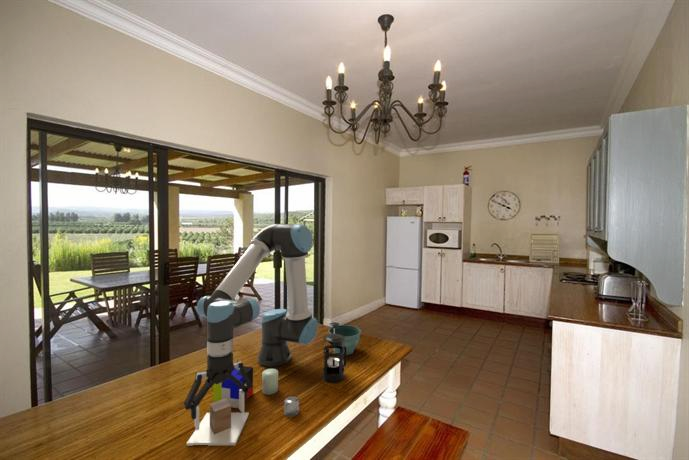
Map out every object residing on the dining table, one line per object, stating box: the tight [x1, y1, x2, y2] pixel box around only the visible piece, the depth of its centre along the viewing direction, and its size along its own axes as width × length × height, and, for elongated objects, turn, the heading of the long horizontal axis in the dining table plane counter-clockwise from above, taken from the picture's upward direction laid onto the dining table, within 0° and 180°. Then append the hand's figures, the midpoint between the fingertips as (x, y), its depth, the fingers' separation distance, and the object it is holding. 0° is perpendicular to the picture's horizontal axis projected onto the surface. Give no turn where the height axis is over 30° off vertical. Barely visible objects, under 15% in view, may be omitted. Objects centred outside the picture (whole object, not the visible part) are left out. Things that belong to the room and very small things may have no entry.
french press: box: [321, 321, 347, 384], centre depth 129 cm, size 12×9×23 cm
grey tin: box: [283, 396, 300, 418], centre depth 105 cm, size 5×5×4 cm
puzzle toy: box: [212, 365, 254, 409], centre depth 112 cm, size 10×10×10 cm
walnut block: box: [209, 398, 232, 434], centre depth 96 cm, size 5×5×7 cm
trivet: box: [186, 411, 250, 447], centre depth 96 cm, size 14×14×1 cm
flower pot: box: [328, 324, 361, 356], centre depth 154 cm, size 16×16×11 cm
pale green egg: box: [261, 368, 279, 396], centre depth 118 cm, size 6×6×7 cm
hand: (220, 418), depth 96 cm, fingers open, 13 cm apart
